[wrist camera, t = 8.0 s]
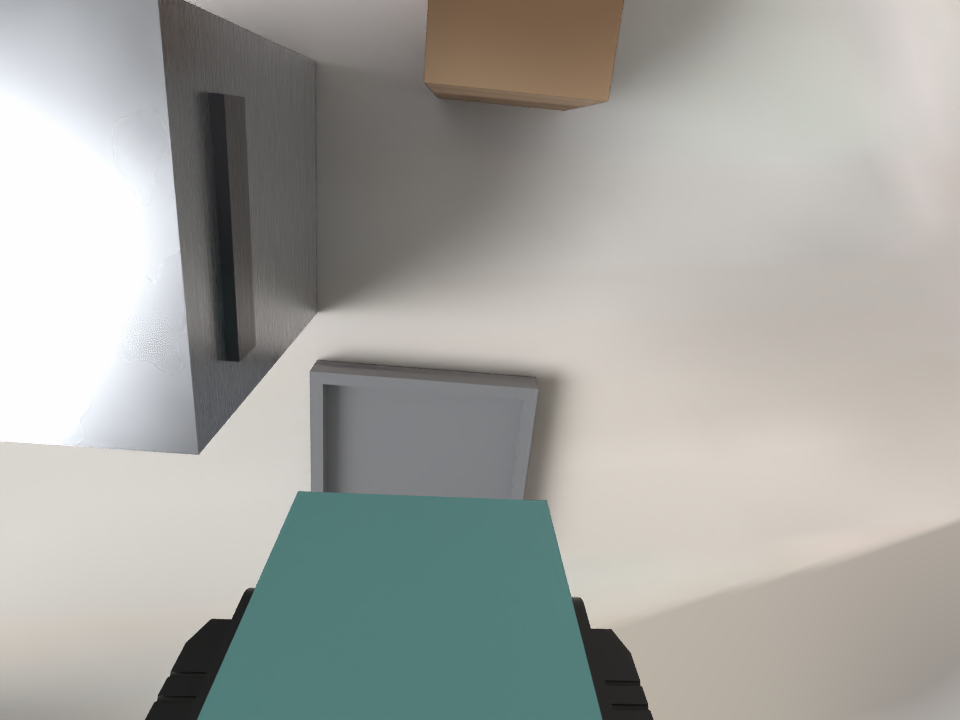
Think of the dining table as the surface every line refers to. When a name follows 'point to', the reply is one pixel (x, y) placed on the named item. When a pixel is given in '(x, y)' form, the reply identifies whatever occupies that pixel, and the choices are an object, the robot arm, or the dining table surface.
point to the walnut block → (522, 51)
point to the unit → (147, 220)
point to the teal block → (408, 616)
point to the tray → (419, 431)
